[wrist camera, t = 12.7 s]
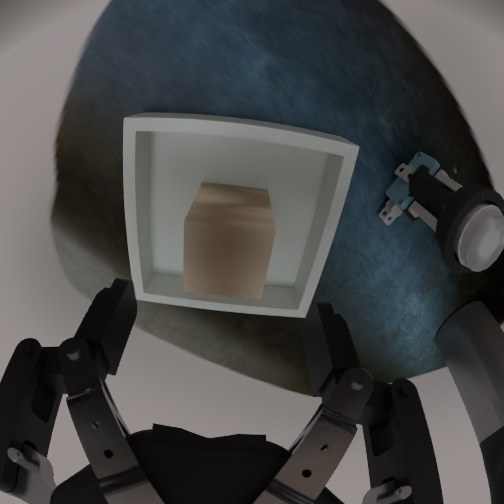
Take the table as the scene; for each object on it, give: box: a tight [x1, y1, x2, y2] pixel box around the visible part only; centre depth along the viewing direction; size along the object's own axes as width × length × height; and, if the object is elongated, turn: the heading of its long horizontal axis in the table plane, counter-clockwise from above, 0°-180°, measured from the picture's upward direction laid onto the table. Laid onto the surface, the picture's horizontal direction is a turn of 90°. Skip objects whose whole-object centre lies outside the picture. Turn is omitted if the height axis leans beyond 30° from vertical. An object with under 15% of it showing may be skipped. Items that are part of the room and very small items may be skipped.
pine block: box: [183, 182, 276, 300], centre depth 17 cm, size 4×4×6 cm
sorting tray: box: [123, 112, 359, 318], centre depth 19 cm, size 14×14×4 cm
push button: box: [378, 152, 504, 274], centre depth 15 cm, size 7×5×10 cm
